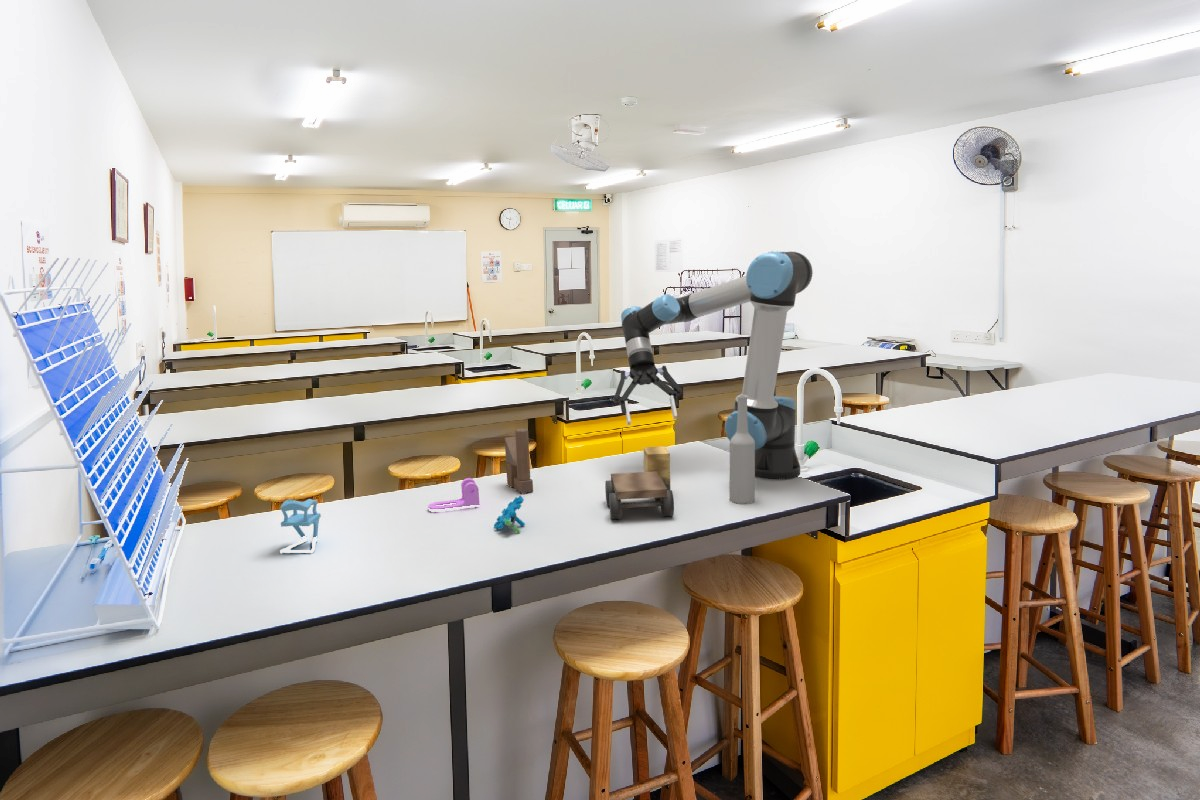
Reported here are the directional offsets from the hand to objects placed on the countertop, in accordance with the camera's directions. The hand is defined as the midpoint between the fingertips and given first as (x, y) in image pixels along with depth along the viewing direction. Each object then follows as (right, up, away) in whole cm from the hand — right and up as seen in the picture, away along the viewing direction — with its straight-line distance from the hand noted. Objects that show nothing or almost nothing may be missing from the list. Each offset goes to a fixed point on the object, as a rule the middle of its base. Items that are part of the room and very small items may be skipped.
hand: (652, 420), depth 213 cm
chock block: (+1, -20, -10) cm, 22 cm away
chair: (-84, -28, -42) cm, 98 cm away
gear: (-37, -26, -34) cm, 56 cm away
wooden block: (-38, -20, -2) cm, 43 cm away
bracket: (-54, -23, -17) cm, 61 cm away
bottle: (+22, -21, -18) cm, 36 cm away
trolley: (-5, -22, -23) cm, 33 cm away
